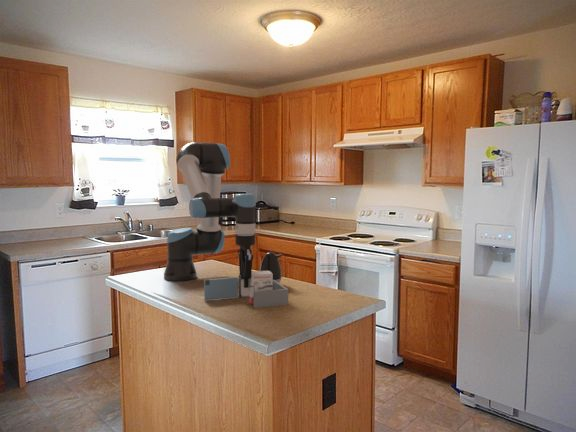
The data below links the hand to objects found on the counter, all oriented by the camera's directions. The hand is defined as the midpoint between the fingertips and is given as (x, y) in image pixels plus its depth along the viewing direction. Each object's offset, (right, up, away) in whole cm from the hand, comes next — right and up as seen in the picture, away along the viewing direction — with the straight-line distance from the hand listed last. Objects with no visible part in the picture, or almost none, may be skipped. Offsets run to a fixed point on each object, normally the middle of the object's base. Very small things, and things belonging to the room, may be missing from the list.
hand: (245, 295), depth 162 cm
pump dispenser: (+9, -1, +27) cm, 29 cm away
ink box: (+6, -3, +1) cm, 7 cm away
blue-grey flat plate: (-10, -2, +4) cm, 11 cm away
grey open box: (+7, -3, +3) cm, 8 cm away
